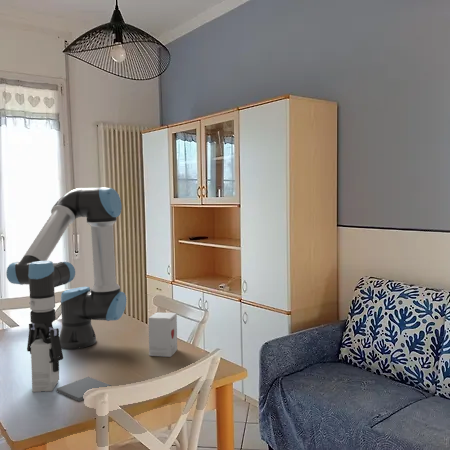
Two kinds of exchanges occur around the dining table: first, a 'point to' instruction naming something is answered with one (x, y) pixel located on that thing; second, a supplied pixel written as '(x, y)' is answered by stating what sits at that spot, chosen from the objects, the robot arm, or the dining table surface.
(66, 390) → the slate mat
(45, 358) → the skincare box
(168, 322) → the supplement box
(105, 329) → the dining table surface
